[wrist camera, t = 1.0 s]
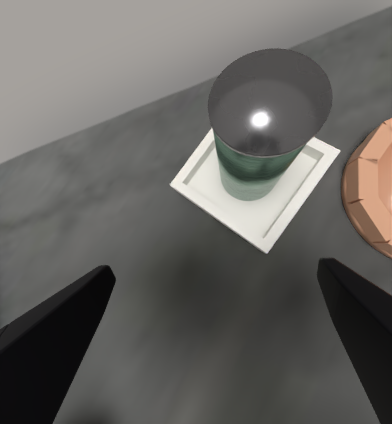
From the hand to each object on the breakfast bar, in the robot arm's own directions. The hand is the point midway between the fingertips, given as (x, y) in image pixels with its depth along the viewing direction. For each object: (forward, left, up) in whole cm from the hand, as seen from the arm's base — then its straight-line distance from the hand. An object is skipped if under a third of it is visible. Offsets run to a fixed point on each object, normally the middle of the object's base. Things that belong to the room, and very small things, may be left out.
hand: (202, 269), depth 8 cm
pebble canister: (+2, -9, -12) cm, 15 cm away
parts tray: (+2, -9, -13) cm, 16 cm away
